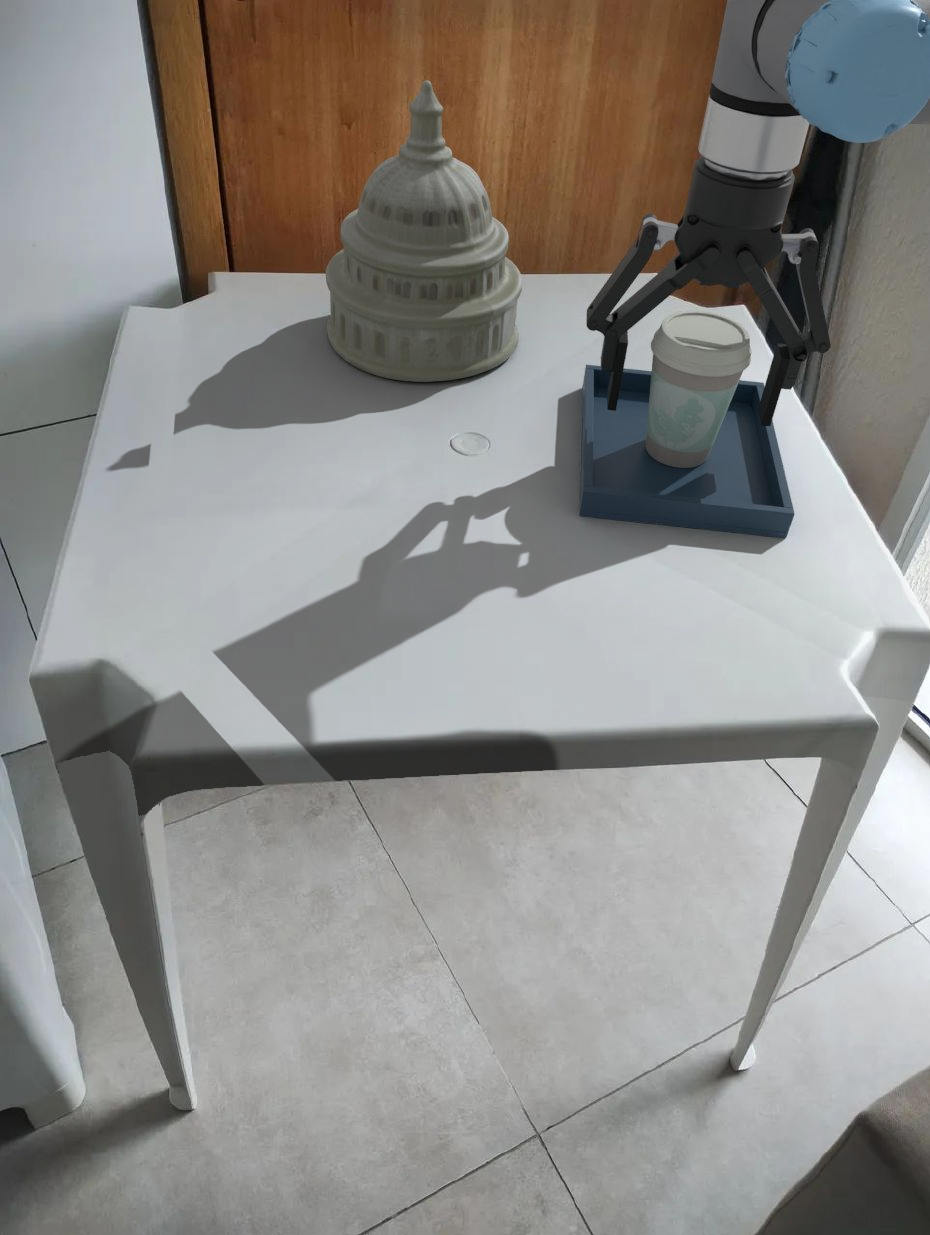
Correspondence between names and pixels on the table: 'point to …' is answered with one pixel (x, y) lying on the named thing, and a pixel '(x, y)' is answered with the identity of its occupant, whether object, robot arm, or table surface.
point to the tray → (685, 497)
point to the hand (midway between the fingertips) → (687, 410)
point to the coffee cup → (693, 384)
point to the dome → (423, 266)
